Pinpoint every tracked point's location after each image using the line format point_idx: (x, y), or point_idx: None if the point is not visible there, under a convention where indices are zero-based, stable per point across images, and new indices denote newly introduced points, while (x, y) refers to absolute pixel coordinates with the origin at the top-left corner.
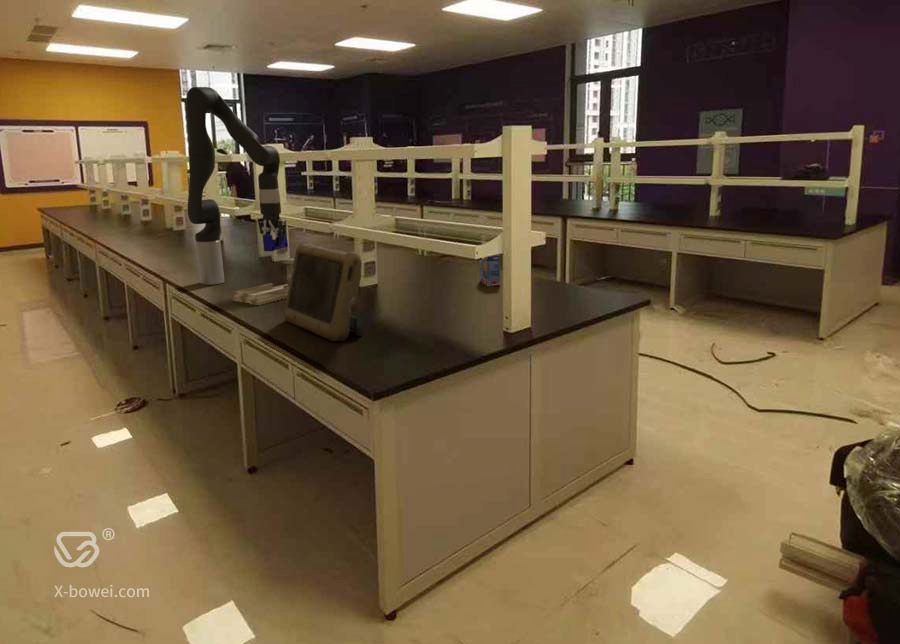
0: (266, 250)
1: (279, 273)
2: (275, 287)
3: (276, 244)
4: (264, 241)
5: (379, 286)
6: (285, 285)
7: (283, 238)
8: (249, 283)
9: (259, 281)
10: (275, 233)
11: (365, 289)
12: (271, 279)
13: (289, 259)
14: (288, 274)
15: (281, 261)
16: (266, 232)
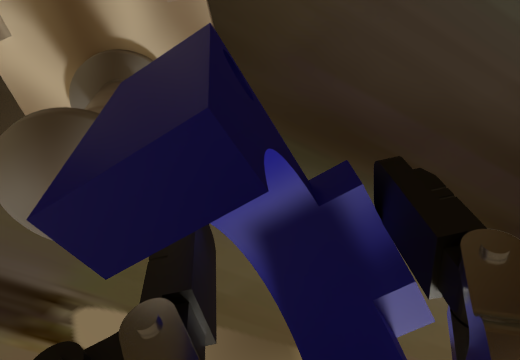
0: (178, 47)
1: (513, 211)
2: (194, 28)
3: None
4: (182, 74)
5: (35, 342)
6: None
7: (306, 350)
8: (489, 12)
9: (476, 78)
10: (163, 356)
11: (7, 303)
12: (456, 140)
13: None
14: (91, 107)
15: (93, 117)
16: (465, 301)
